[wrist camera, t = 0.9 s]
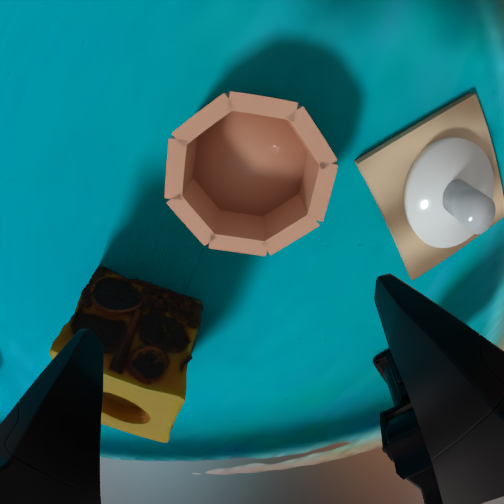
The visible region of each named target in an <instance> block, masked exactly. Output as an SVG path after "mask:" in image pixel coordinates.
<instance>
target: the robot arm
mask: <svg viewBox="0 0 504 504" xmlns="http://www.w3.org/2000/svg"><path fill="white" fill-rule="evenodd" d="M374 299H375V304H376V307H377V310H378V313H379V316H380V319H381V323H382V326H383V329H384V332H385V336H386V339H387V342H388V345H389V348H390V350H389V351H388V352H386V353H384V354H382V355H380V356H378V357H376V358H374V359H373V363H374V365H375V367H376V368H377V370H378V371H379V373H380V374H381V376H382V377H383V379H384V380H385V382H386V383H387V385H388V388H389V391H390V394H391V397H392V400H393V403H394V407H392V408H390V409H388V410H386V411H383V412H381V413H380V425H381V434H382V444H383V448H382V450H383V452H384V453H387V455H388V457H389V458H390V459H391V461H393V462H394V463H395V468H396V473H397V474H398V475H399V476H400V477H401V478H402V479H407V480H408V481H410V482H411V483H412V484H414V485H415V486H417V487H418V488H419V489H421V491H422V495H423V499H424V503H425V504H504V351H503V350H501V349H500V348H498V347H497V346H496V345H494V344H493V343H491V342H490V341H488V340H487V339H486V338H484V337H483V336H482V335H480V336H479V333H477V332H476V331H475V330H473V329H472V328H470V327H469V326H468V325H466V324H465V323H463V322H462V321H461V320H459V319H458V318H456V317H455V316H453V315H452V314H451V313H449V312H448V311H446V310H445V309H443V308H442V307H440V306H439V305H437V304H436V303H435V302H433V301H432V300H430V299H429V298H427V297H426V296H424V295H423V294H421V293H420V292H418V291H417V290H415V289H414V288H412V287H411V286H409V285H408V284H406V283H404V282H403V281H401V280H400V279H398V278H397V277H395V276H394V275H392V274H385V275H381V276H378V277H377V280H376V287H375V296H374ZM103 372H104V347H103V345H102V343H101V342H100V340H99V339H98V338H97V337H96V335H95V334H94V333H93V332H92V330H90V329H82V330H79V331H78V332H77V333H76V334H75V335H74V336H73V337H72V338H71V339H70V340H69V342H68V343H67V344H66V345H65V346H64V347H63V348H62V350H61V351H60V352H59V353H58V354H57V355H56V356H55V358H54V359H53V360H52V361H51V362H50V363H49V365H48V366H47V367H46V368H45V369H44V371H43V372H42V373H41V374H40V375H39V377H38V378H37V379H36V380H35V381H34V383H33V384H32V385H31V386H30V388H29V389H28V390H27V391H26V393H25V394H24V395H23V396H22V398H21V399H20V400H19V402H18V403H17V404H16V405H15V407H14V408H13V409H12V410H11V412H10V413H9V414H8V415H7V417H6V418H5V419H4V420H3V421H2V423H1V424H0V504H101V497H100V433H101V414H102V401H103Z"/></svg>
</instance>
